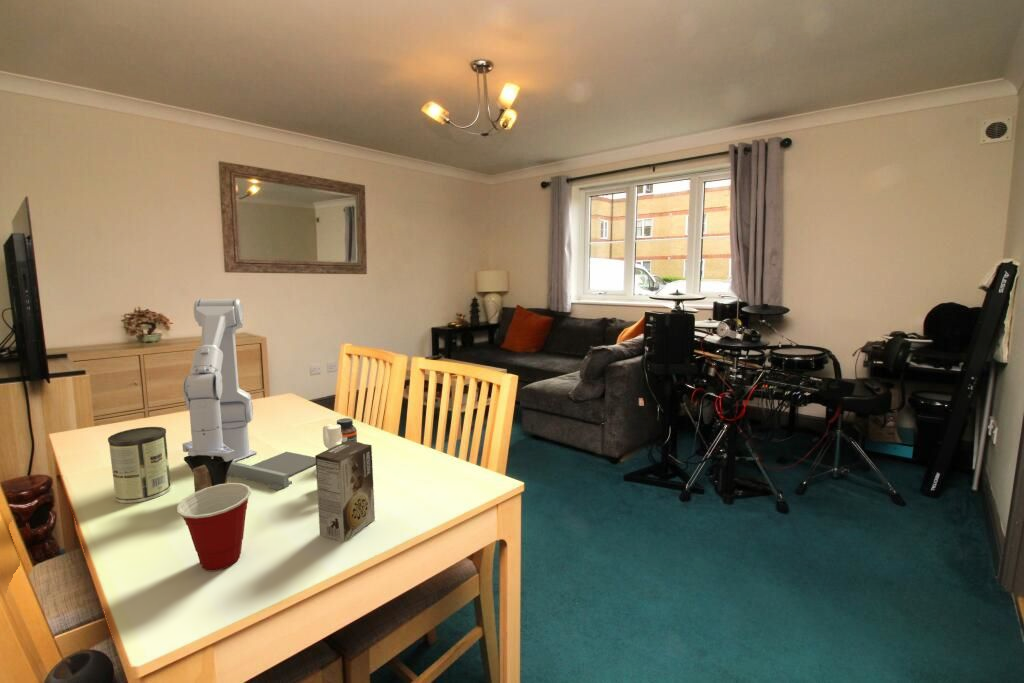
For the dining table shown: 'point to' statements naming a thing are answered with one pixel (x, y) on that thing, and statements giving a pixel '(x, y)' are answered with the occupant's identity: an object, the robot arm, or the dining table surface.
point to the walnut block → (202, 478)
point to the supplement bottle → (347, 430)
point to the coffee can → (139, 464)
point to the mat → (288, 463)
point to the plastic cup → (216, 523)
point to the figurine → (332, 435)
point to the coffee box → (345, 489)
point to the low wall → (260, 475)
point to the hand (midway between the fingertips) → (211, 486)
